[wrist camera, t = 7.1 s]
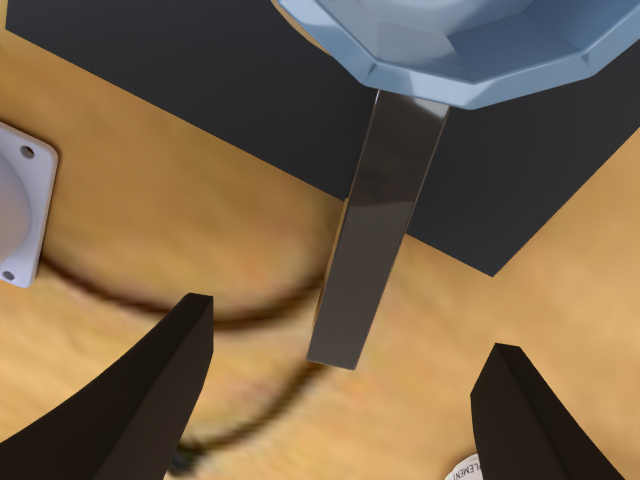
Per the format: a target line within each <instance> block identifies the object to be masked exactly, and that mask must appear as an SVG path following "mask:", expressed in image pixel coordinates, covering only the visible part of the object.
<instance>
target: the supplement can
mask: <svg viewBox="0 0 640 480" xmlns="http://www.w3.org/2000/svg"><path fill="white" fill-rule="evenodd" d="M445 480H483V477H482V472H481V468H480V463H479V458H478V453H477V454H474V455H471V456H469V457H468V458H466V459H465V460H463V461H462V462H460V463H459V464H457V465H456V466H455V468H454V469H453V471H452V472H451V473H449V474H448V476H447V477H446V479H445Z"/></svg>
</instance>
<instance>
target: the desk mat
mask: <svg viewBox="0 0 640 480" xmlns="http://www.w3.org/2000/svg"><path fill="white" fill-rule="evenodd" d="M5 29H6V30H8V31H10V32H12V33H14V34H16V35H18V36H20V37H22V38H24V39H26V40H28V41H30V42H32V43H34V44H36V45H37V46H39V47H41V48H43V49H45V50H47V51H49V52H51V53H53V54H55V55H57V56H59V57H61V58H63V59H65V60H67V61H69V62H71V63H73V64H75V65H77V66H79V67H81V68H83V69H85V70H87V71H89V72H90V73H92V74H94V75H96V76H98V77H100V78H102V79H104V80H106V81H108V82H110V83H112V84H114V85H116V86H118V87H120V88H122V89H124V90H126V91H128V92H130V93H132V94H134V95H136V96H138V97H140V98H142V99H143V100H145V101H147V102H149V103H151V104H153V105H155V106H157V107H159V108H161V109H163V110H165V111H167V112H169V113H171V114H173V115H175V116H177V117H179V118H181V119H183V120H185V121H187V122H189V123H191V124H193V125H195V126H196V127H198V128H200V129H202V130H204V131H206V132H208V133H210V134H212V135H214V136H216V137H218V138H220V139H222V140H224V141H226V142H228V143H230V144H232V145H234V146H236V147H238V148H240V149H242V150H244V151H246V152H247V153H249V154H251V155H253V156H255V157H257V158H259V159H261V160H263V161H265V162H267V163H269V164H271V165H273V166H275V167H277V168H279V169H281V170H283V171H285V172H287V173H289V174H291V175H293V176H295V177H297V178H299V179H300V180H302V181H304V182H306V183H308V184H310V185H312V186H314V187H316V188H318V189H320V190H322V191H324V192H326V193H328V194H330V195H332V196H334V197H336V198H338V199H340V200H342V201H344V202H345V198H346V194H347V190H348V187H349V183H350V179H351V175H352V171H353V168H354V164H355V160H356V156H357V153H358V149H359V145H360V141H361V137H362V134H363V130H364V126H365V122H366V118H367V115H368V111H369V107H370V103H371V100H372V96H373V92H374V88H372V87H367V86H365V85H363V84H361V83H360V82H359V81H358V80H357V79H355V78H354V77H353V76H352V75H351V74H350V73H349V72H348V71H347V70H346V69H345V68H344V67H343V66H342V65H341V64H340V63H339V62H338V61H337V60H336V59H335V58H334V57H333V56H332V55H330V54H329V53H328V52H327V51H326V50H325V49H324V48H323V47H322V46H321V45H320V44H319V43H318V42H317V41H316V40H315V39H314V38H313V37H312V36H311V35H310V34H309V33H308V32H307V31H305V30H304V29H303V28H302V27H301V26H300V25H299V24H298V23H297V22H296V21H295V20H294V19H293V18H292V17H291V16H290V15H289V14H288V13H287V12H286V11H285V10H284V9H283V8H281V7H280V6H279V5H278V2H277V1H276V0H8V7H7V17H6V27H5ZM639 127H640V39H638V40H637V41H636V42H635V43H633V44H632V45H631V46H630V47H629V48H627V49H626V50H625V51H624V52H622V53H621V54H620V55H619V56H617V57H616V58H615V59H614V60H612V61H611V62H610V63H609V64H607V65H606V66H605V67H604V68H602V69H601V70H600V71H599V72H597V73H596V74H595V75H593V76H591V77H589V78H586V79H583V80H579V81H575V82H572V83H568V84H565V85H561V86H557V87H554V88H550V89H547V90H543V91H539V92H536V93H532V94H528V95H525V96H521V97H518V98H514V99H510V100H507V101H503V102H500V103H496V104H492V105H489V106H485V107H481V108H478V109H474V110H466V109H462V108H457V107H453V106H452V107H451V110H450V113H449V115H448V118H447V121H446V124H445V126H444V129H443V132H442V134H441V137H440V140H439V143H438V145H437V148H436V151H435V154H434V156H433V159H432V162H431V164H430V167H429V170H428V173H427V175H426V178H425V181H424V183H423V186H422V189H421V192H420V194H419V197H418V200H417V203H416V205H415V208H414V211H413V213H412V216H411V219H410V222H409V224H408V227H407V230H406V234H408V235H410V236H412V237H414V238H416V239H418V240H420V241H422V242H424V243H426V244H428V245H430V246H432V247H434V248H436V249H438V250H440V251H442V252H444V253H446V254H448V255H450V256H452V257H454V258H456V259H458V260H459V261H461V262H463V263H465V264H467V265H469V266H471V267H473V268H475V269H477V270H479V271H481V272H483V273H485V274H487V275H489V276H491V277H493V276H494V275H495V274H496V273H497V272H498V271H499V270H500V269H501V268H502V267H503V266H504V265H505V264H506V263H507V262H508V261H509V260H510V259H511V258H512V257H513V256H514V255H515V254H516V253H517V252H518V251H519V250H520V249H521V248H522V247H523V246H524V245H525V244H526V243H527V242H528V241H529V240H530V239H531V238H532V237H533V235H534V234H535V233H536V232H537V231H538V230H539V229H540V228H541V227H542V226H543V225H544V224H545V223H546V222H547V221H548V220H549V219H550V218H551V217H552V216H553V215H554V214H555V213H556V212H557V211H558V210H559V209H560V208H561V207H562V206H563V205H564V204H565V203H566V202H567V201H568V200H569V199H570V198H571V197H572V196H573V195H574V194H575V193H576V192H577V190H578V189H579V188H580V187H581V186H582V185H583V184H584V183H585V182H586V181H587V180H588V179H589V178H590V177H591V176H592V175H593V174H594V173H595V172H596V171H597V170H598V169H599V168H600V167H601V166H602V165H603V164H604V163H605V162H606V161H607V160H608V159H609V158H610V157H611V156H612V155H613V154H614V153H615V152H616V151H617V150H618V149H619V148H620V147H621V145H622V144H623V143H624V142H625V141H626V140H627V139H628V138H629V137H630V136H631V135H632V134H633V133H634V132H635V131H636V130H637V129H638V128H639Z"/></svg>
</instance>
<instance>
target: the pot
mask: <svg viewBox="0 0 640 480" xmlns="http://www.w3.org/2000/svg"><path fill="white" fill-rule="evenodd" d="M276 1H277V2H278V5H279V6H280V7H281V8H283V9H284V10H285V11H286V12H287V13H288V14H289V15H290V16H291V17H292V18H293V19H294V20H295V21H296V22H297V23H298V24H299V25H300V26H301V27H302V28H303V29H304V30H305V31H307V32H308V33H309V34H310V35H311V36H312V37H313V38H314V39H315V40H316V41H317V42H318V43H319V44H320V45H321V46H322V47H323V48H324V49H325V50H326V51H327V52H328V53H329V54H330V55H332V56H333V57H334V58H335V59H336V60H337V61H338V62H339V63H340V64H341V65H342V66H343V67H344V68H345V69H346V70H347V71H348V72H349V73H350V74H351V75H352V76H353V77H354V78H355V79H357V80H358V81H359V82H360V83H361V84H363V85H365V86H367V87H372V88H374V92H373V96H372V100H371V103H370V107H369V111H368V115H367V118H366V122H365V126H364V130H363V134H362V137H361V141H360V145H359V149H358V153H357V156H356V160H355V164H354V168H353V171H352V175H351V179H350V183H349V187H348V190H347V194H346V198H345V202H344V206H343V209H342V213H341V217H340V221H339V224H338V228H337V232H336V236H335V240H334V243H333V247H332V251H331V255H330V259H329V262H328V266H327V270H326V274H325V277H324V281H323V285H322V289H321V293H320V296H319V300H318V304H317V308H316V312H315V315H314V319H313V323H312V327H311V330H310V335H309V341H308V347H307V353H306V360H308V361H312V362H316V363H321V364H326V365H330V366H335V367H339V368H344V369H349V370H355V369H356V366H357V363H358V361H359V358H360V355H361V352H362V350H363V347H364V344H365V341H366V339H367V336H368V333H369V331H370V328H371V325H372V322H373V320H374V317H375V314H376V312H377V309H378V306H379V303H380V301H381V298H382V295H383V292H384V290H385V287H386V284H387V282H388V279H389V276H390V273H391V271H392V268H393V265H394V262H395V260H396V257H397V254H398V252H399V249H400V246H401V243H402V241H403V238H404V235H405V233H406V230H407V227H408V224H409V222H410V219H411V216H412V213H413V211H414V208H415V205H416V203H417V200H418V197H419V194H420V192H421V189H422V186H423V183H424V181H425V178H426V175H427V173H428V170H429V167H430V164H431V162H432V159H433V156H434V154H435V151H436V148H437V145H438V143H439V140H440V137H441V134H442V132H443V129H444V126H445V124H446V121H447V118H448V115H449V113H450V110H451V107H452V106H453V107H457V108H462V109H466V110H474V109H478V108H481V107H485V106H489V105H492V104H496V103H500V102H503V101H507V100H510V99H514V98H518V97H521V96H525V95H528V94H532V93H536V92H539V91H543V90H547V89H550V88H554V87H557V86H561V85H565V84H568V83H572V82H575V81H579V80H583V79H586V78H589V77H591V76H593V75H595V74H596V73H597V72H599V71H600V70H601V69H602V68H604V67H605V66H606V65H607V64H609V63H610V62H611V61H612V60H614V59H615V58H616V57H617V56H619V55H620V54H621V53H622V52H624V51H625V50H626V49H627V48H629V47H630V46H631V45H632V44H633V43H635V42H636V41H637V40H638V39H640V0H276Z"/></svg>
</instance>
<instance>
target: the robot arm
mask: <svg viewBox="0 0 640 480" xmlns="http://www.w3.org/2000/svg"><path fill="white" fill-rule="evenodd" d="M27 146H28V147H30V148H31V149H32V151H33V152H34V154H32V153H31V152H29V150H28V149H27ZM57 164H58V155H57V153H56V151H55V150H54V149H53V148H52V147H51V146H50V145H48V144H46V143H44V142H42V141H40V140H38V139H36V138H34V137H32V136H30V135H27V134H25V133H23V132H21V131H19V130H17V129H15V128H13V127H11V126H8V125H6V124H4V123H2V122H0V279H1V280H3V281H6V282H8V283H11V284H13V285H16V286H18V287H21V288H28V287H30V286H31V285H32V284H33V283H34V281H35V277H36V272H37V267H38V262H39V257H40V251H41V246H42V241H43V236H44V231H45V226H46V221H47V215H48V210H49V205H50V200H51V195H52V190H53V184H54V179H55V174H56V169H57ZM212 355H213V296H207V295H201V294H195V293H188V294H187V295H185V296H184V297H183V298H182V299H181V300H180V301H179V303H178V304H177V305H176V306H175V307H174V308H173V309H172V310H171V311H170V312H169V313H168V314H167V315H166V316H165V317H164V318H163V319H162V320H161V321H160V322H159V323H158V324H157V325H156V326H155V327H154V328H152V329H151V330H150V331H149V332H148V333H147V334H146V335H145V336H144V337H143V338H142V339H141V340H139V341H138V342H137V343H136V344H135V345H134V346H133V347H132V348H131V349H130V350H129V351H127V352H126V353H125V354H124V355H123V356H122V357H120V358H119V359H118V360H117V361H116V362H114V363H113V364H112V365H111V366H110V367H108V368H107V369H106V370H105V371H104V372H102V373H101V374H100V375H99V376H98V377H96V378H95V379H94V380H92V381H91V382H90V383H89V384H87V385H86V386H85V387H83V388H82V389H81V390H79V391H78V392H77V393H75V394H74V395H73V396H71V397H70V398H68V399H67V400H66V401H64V402H63V403H61V404H60V405H59V406H57V407H56V408H54V409H53V410H51V411H50V412H48V413H47V414H45V415H44V416H42V417H41V418H39V419H38V420H36V421H35V422H33V423H32V424H30V425H29V426H27V427H26V428H24V429H22V430H21V431H19V432H18V433H16V434H14V435H13V436H11V437H10V438H8V439H6V440H5V441H3V442H1V443H0V480H163V478H164V476H165V473H166V471H167V468H168V466H169V464H170V461H171V459H172V457H173V455H174V452H175V450H176V448H177V446H178V443H179V441H180V439H181V436H182V434H183V432H184V430H185V427H186V425H187V423H188V420H189V418H190V416H191V414H192V411H193V409H194V407H195V404H196V402H197V400H198V397H199V395H200V393H201V390H202V388H203V385H204V381H205V378H206V375H207V372H208V368H209V365H210V362H211V358H212ZM470 397H471V412H472V423H473V433H474V439H475V444H476V449H477V453H478V458H479V463H480V468H481V472H482V477H483V480H625V479H624V478H623V477H622V475H621V474H620V473H619V472H618V471H617V470H616V469H615V468H614V467H613V465H612V464H611V463H610V462H609V461H608V460H607V458H606V457H605V456H604V455H603V454H602V453H601V451H600V450H599V449H598V448H597V447H596V445H595V444H594V443H593V442H592V441H591V440H590V438H589V437H588V436H587V435H586V433H585V432H584V431H583V430H582V428H581V427H580V426H579V425H578V423H577V422H576V421H575V420H574V418H573V417H572V416H571V415H570V413H569V412H568V411H567V409H566V408H565V407H564V405H563V404H562V403H561V402H560V400H559V399H558V398H557V396H556V395H555V394H554V392H553V391H552V390H551V388H550V387H549V386H548V384H547V383H546V381H545V380H544V379H543V377H542V376H541V375H540V373H539V372H538V371H537V369H536V368H535V367H534V365H533V364H532V362H531V361H530V360H529V358H528V357H527V356H526V354H525V353H524V352H523V350H522V349H521V348H520V347H519V346H513V345H506V344H500V343H495V345H494V347H493V349H492V351H491V353H490V355H489V357H488V359H487V361H486V363H485V365H484V367H483V369H482V371H481V373H480V375H479V377H478V379H477V381H476V384H475V386H474V388H473V390H472V392H471V394H470Z"/></svg>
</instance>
